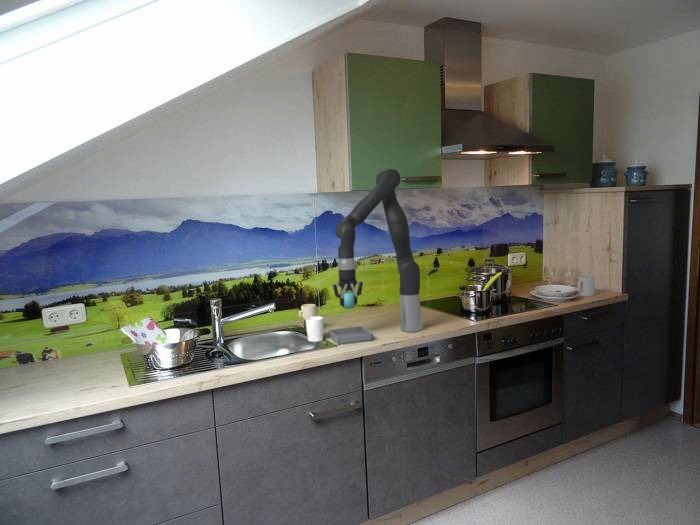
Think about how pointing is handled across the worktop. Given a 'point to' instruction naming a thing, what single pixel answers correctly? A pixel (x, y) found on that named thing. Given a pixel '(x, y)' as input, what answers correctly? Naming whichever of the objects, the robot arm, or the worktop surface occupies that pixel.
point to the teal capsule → (349, 300)
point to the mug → (586, 285)
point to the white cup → (314, 328)
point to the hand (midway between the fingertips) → (348, 305)
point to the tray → (350, 335)
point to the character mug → (308, 312)
